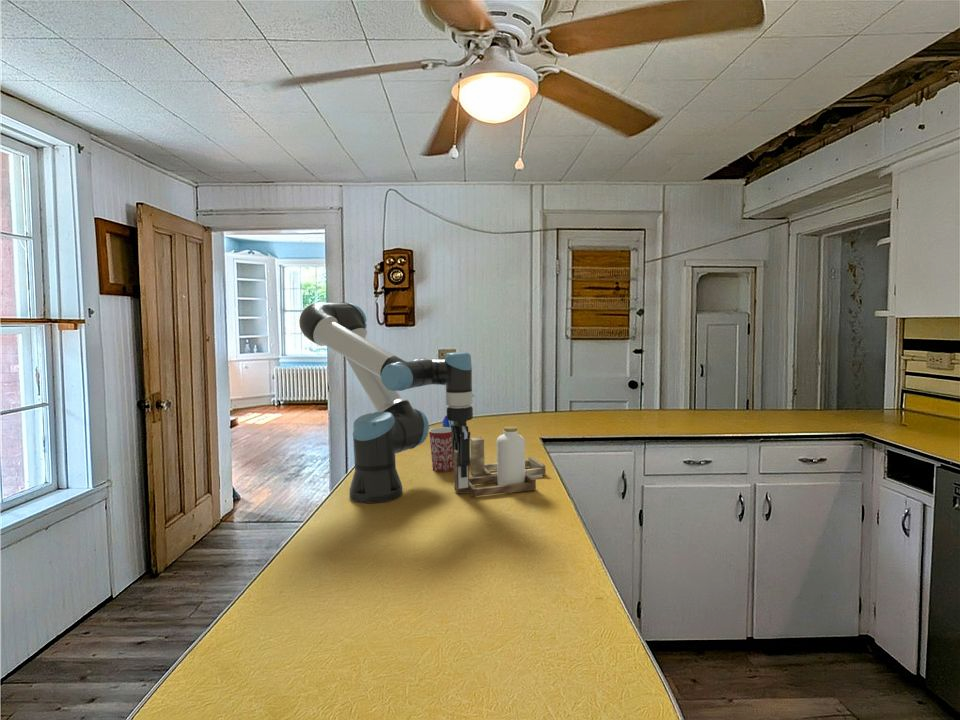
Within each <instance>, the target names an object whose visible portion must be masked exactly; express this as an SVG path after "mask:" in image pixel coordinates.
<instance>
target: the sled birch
mask: <svg viewBox="0 0 960 720" xmlns="http://www.w3.org/2000/svg"><path fill="white" fill-rule="evenodd" d="M526 468H528V469H526ZM491 471H496V472H491ZM525 472H526V473H527V474H529V475H539V474H542V475H543V476H545V475H546V472H547V471H546V465H545V464H544V463H543V462H540V460H538V459H537V458H535V457H534V456H528V458H527V459H525ZM491 475H497V462H496V463H495V462H492V463H485V439H484V438H482V437H470V476H471V477H481V476H491Z"/></svg>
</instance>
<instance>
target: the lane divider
mask: <svg viewBox="0 0 960 720" xmlns="http://www.w3.org/2000/svg"><path fill="white" fill-rule="evenodd" d="M530 476H531V477H533V478H534V479H539V478H543V476H544V475H542V474H539V475H530Z"/></svg>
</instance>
